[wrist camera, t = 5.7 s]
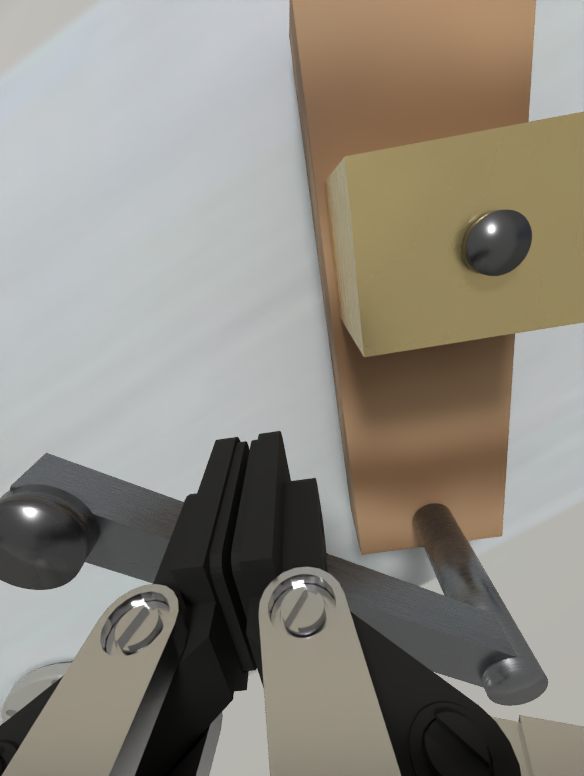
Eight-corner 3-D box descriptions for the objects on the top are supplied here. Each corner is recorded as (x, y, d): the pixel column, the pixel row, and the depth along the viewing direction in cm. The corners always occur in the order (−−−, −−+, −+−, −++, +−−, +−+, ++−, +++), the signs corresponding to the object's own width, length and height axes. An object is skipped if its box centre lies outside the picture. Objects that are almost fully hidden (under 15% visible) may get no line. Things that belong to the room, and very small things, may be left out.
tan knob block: (509, 288, 14) (629, 320, 9) (339, 316, 15) (366, 362, 10) (517, 147, 12) (670, 92, 8) (324, 182, 13) (347, 152, 8)
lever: (462, 506, 18) (580, 691, 11) (434, 542, 19) (525, 736, 11) (125, 367, 15) (-22, 492, 8) (108, 416, 16) (-38, 570, 9)
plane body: (466, 491, 23) (501, 542, 19) (350, 507, 23) (362, 560, 19) (474, -8, 14) (541, -93, 10) (287, 30, 14) (287, -38, 11)
